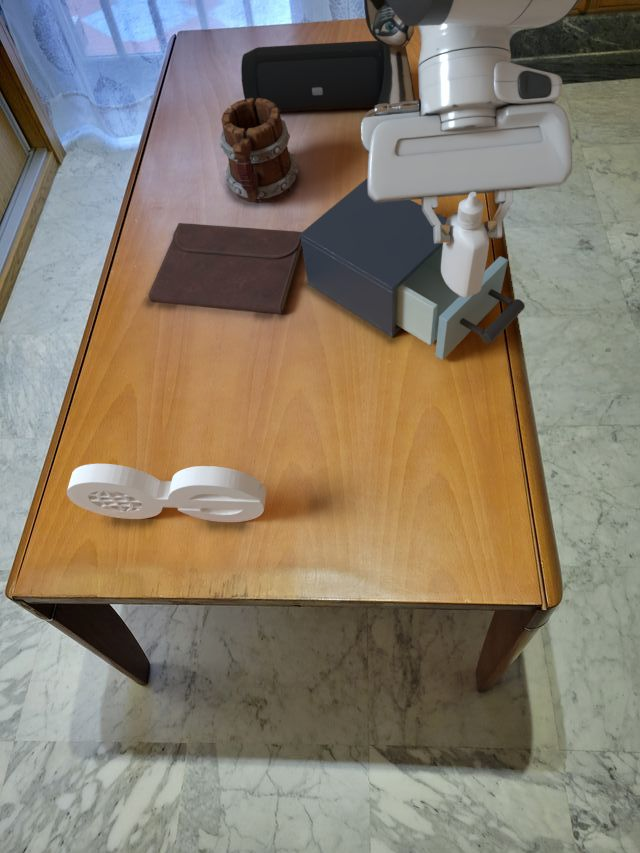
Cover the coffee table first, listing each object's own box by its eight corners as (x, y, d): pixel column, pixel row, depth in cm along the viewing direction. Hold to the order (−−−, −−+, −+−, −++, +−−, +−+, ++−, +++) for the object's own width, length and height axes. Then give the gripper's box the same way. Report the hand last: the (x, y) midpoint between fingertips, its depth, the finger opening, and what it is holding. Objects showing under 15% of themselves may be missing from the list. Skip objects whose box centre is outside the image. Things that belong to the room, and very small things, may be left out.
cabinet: (453, 278, 89) (460, 225, 81) (392, 337, 85) (392, 288, 77) (369, 231, 96) (367, 177, 87) (307, 284, 91) (299, 233, 83)
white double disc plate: (88, 517, 76) (50, 481, 67) (93, 500, 77) (56, 462, 68) (270, 523, 73) (254, 486, 64) (272, 505, 74) (257, 467, 66)
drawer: (529, 319, 83) (542, 277, 77) (473, 379, 79) (481, 341, 73) (413, 254, 91) (415, 211, 84) (357, 307, 87) (354, 266, 80)
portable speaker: (248, 125, 112) (237, 69, 103) (255, 91, 117) (244, 35, 108) (394, 119, 109) (394, 60, 100) (395, 85, 114) (395, 26, 105)
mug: (305, 152, 106) (291, 75, 92) (294, 223, 101) (278, 153, 87) (237, 152, 108) (213, 76, 94) (224, 222, 103) (196, 153, 89)
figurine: (373, 153, 105) (369, -14, 83) (358, 128, 108) (350, -38, 87) (426, 137, 106) (435, -33, 84) (408, 113, 109) (413, -55, 88)
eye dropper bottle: (478, 262, 73) (494, 174, 63) (481, 299, 70) (497, 214, 60) (440, 262, 74) (449, 175, 63) (441, 299, 71) (450, 214, 60)
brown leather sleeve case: (282, 316, 89) (279, 306, 87) (151, 303, 92) (146, 293, 91) (304, 239, 96) (303, 229, 94) (182, 230, 100) (179, 220, 98)
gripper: (359, 98, 60) (369, 248, 64) (579, 75, 59) (577, 231, 62) (358, 113, 66) (367, 249, 70) (558, 93, 65) (556, 233, 68)
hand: (467, 240), depth 66 cm, fingers closed on eye dropper bottle, 4 cm apart
